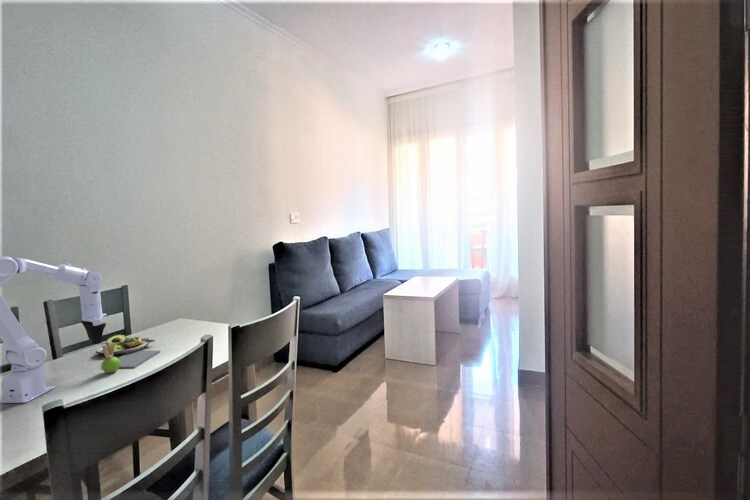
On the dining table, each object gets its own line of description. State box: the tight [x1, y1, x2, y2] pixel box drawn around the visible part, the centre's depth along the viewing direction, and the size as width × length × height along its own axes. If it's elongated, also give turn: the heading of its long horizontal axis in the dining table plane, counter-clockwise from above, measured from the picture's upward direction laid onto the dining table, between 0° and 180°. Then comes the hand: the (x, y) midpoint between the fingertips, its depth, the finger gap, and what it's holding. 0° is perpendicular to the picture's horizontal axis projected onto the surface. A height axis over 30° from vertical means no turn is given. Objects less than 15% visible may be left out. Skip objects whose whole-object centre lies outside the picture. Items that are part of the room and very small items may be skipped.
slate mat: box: [117, 350, 161, 369], centre depth 140 cm, size 15×12×1 cm
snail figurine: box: [100, 341, 120, 374], centre depth 128 cm, size 5×6×12 cm
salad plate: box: [96, 334, 156, 357], centre depth 152 cm, size 19×18×5 cm
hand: (95, 341), depth 132 cm, fingers open, 7 cm apart
